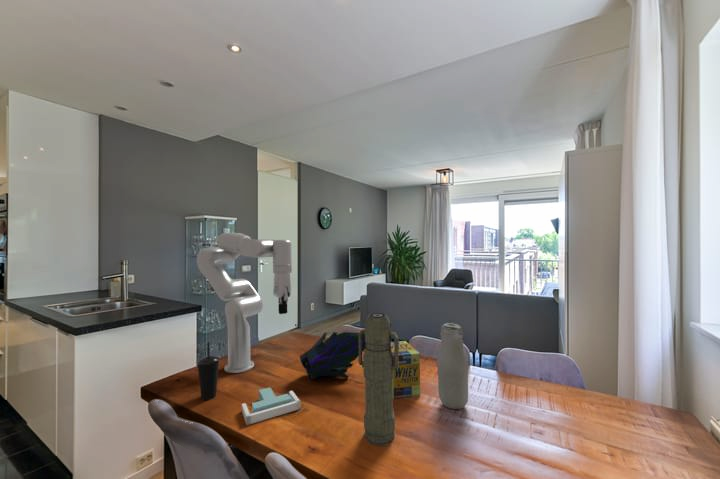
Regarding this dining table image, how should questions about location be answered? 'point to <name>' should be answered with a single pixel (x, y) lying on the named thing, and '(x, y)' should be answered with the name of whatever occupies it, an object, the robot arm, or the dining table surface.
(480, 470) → the dining table surface
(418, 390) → the protein box
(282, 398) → the t block
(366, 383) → the thermos
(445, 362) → the pale grey bottle
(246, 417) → the dock
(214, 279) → the robot arm
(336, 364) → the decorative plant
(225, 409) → the dining table surface
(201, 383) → the drinking cup
